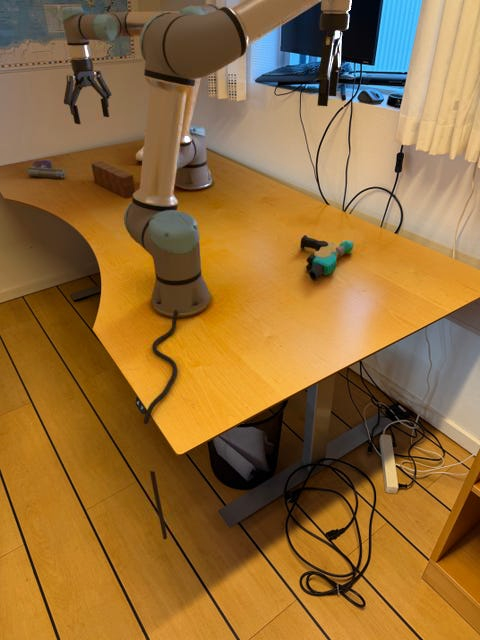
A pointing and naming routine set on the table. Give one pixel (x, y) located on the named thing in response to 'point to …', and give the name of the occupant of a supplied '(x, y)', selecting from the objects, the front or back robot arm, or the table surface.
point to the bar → (113, 179)
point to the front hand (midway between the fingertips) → (327, 100)
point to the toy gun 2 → (323, 255)
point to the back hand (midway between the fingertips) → (92, 120)
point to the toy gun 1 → (45, 170)
